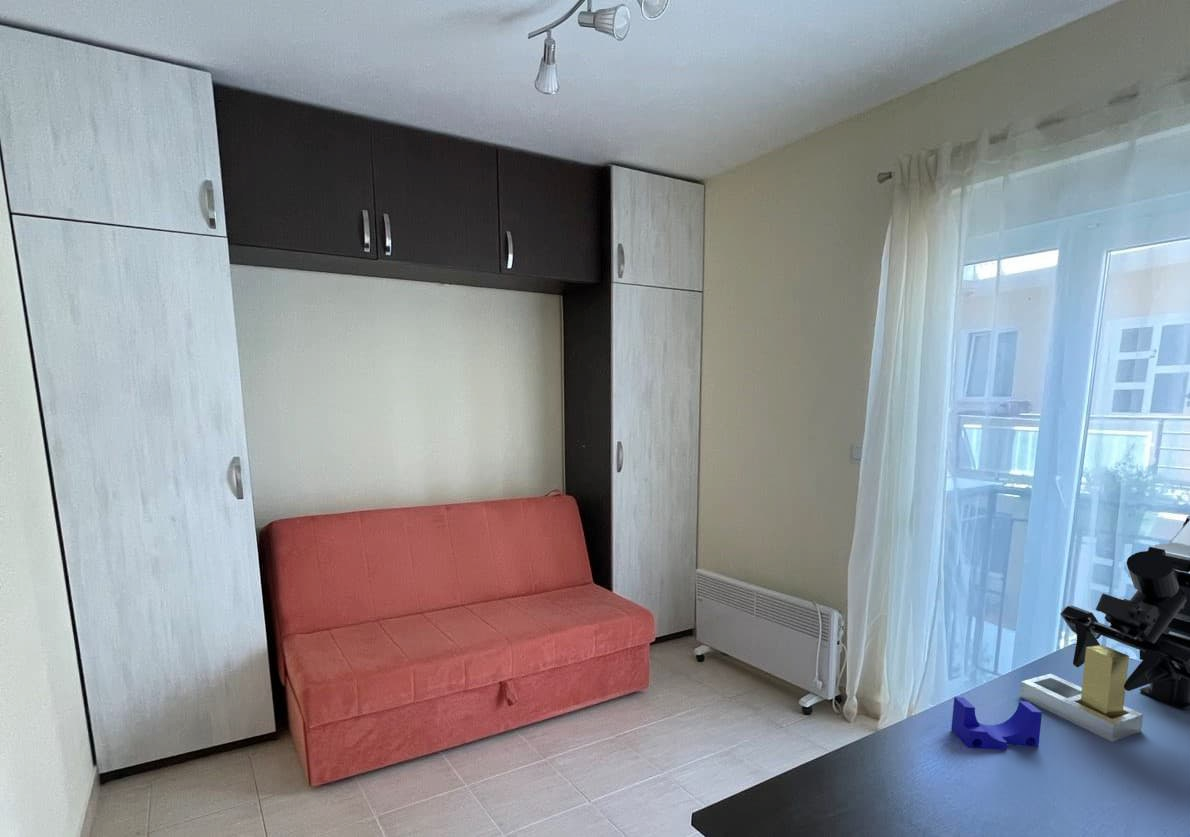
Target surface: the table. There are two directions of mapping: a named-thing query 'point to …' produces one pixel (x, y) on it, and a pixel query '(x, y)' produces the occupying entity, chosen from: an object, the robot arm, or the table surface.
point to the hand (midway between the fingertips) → (1099, 676)
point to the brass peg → (1104, 680)
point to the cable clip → (996, 727)
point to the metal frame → (1078, 707)
